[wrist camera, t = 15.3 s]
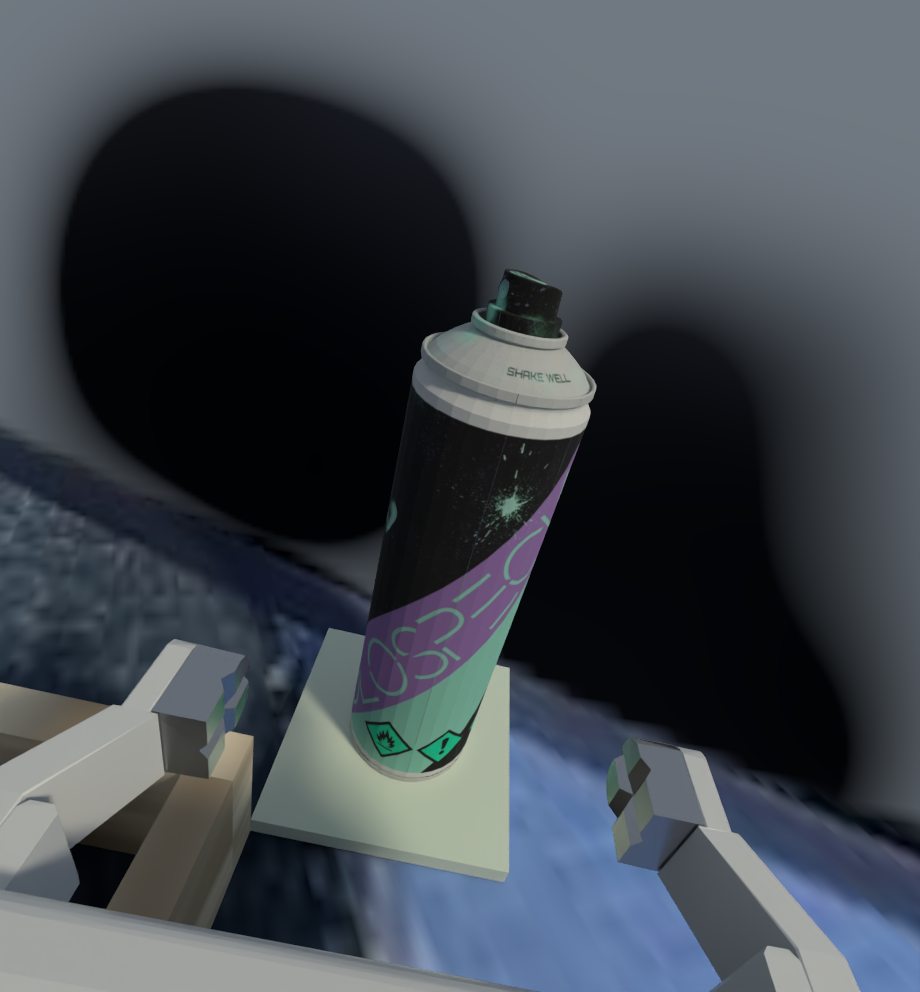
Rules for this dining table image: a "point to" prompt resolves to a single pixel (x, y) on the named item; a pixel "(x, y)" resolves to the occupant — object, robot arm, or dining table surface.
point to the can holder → (154, 815)
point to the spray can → (465, 523)
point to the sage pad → (388, 781)
